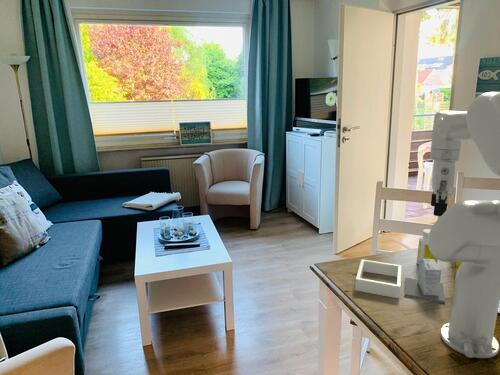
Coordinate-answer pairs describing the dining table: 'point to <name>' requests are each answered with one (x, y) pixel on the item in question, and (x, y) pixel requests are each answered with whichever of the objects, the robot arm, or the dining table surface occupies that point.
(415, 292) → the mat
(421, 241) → the supplement bottle
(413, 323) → the dining table surface
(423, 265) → the medicine box
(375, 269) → the bin
